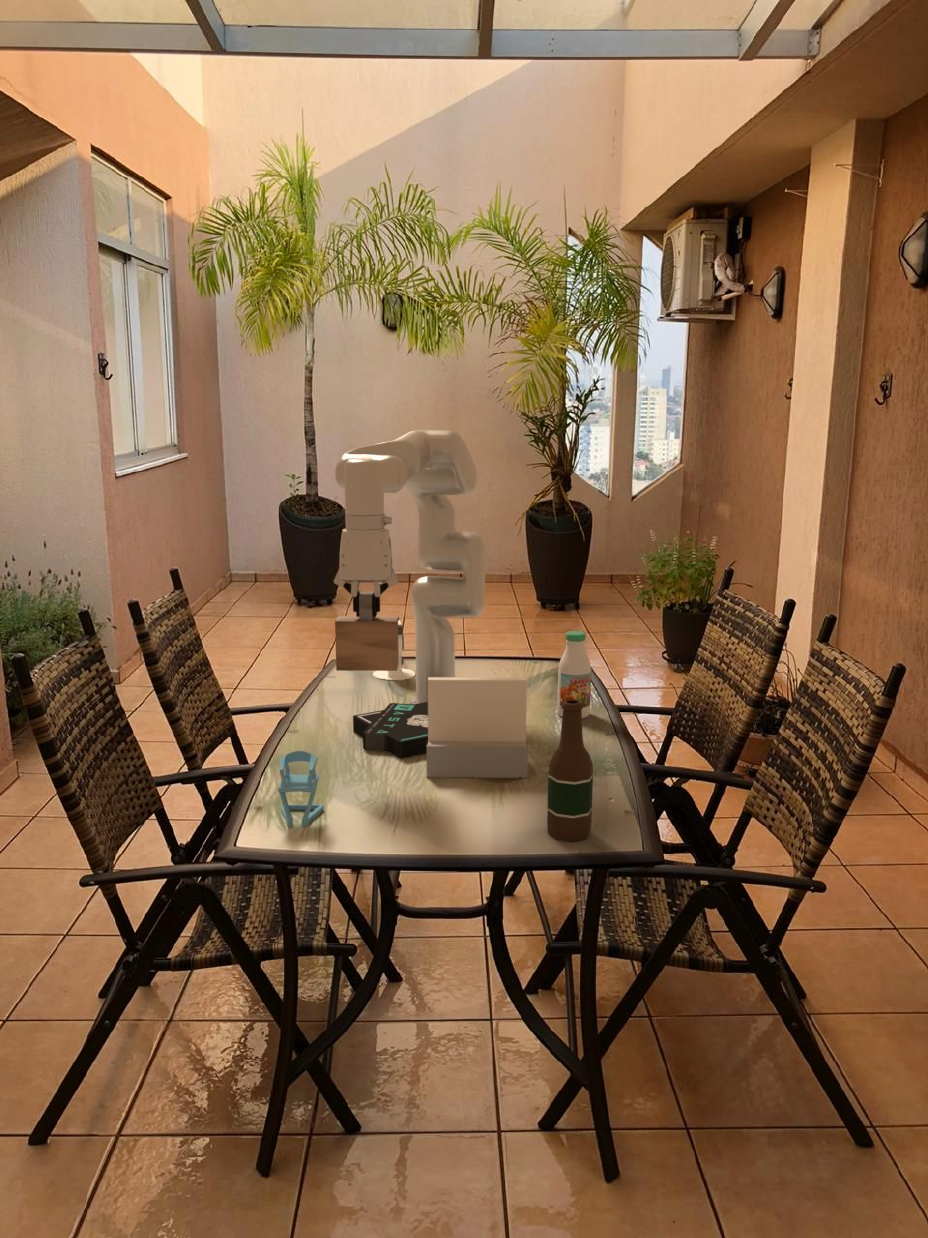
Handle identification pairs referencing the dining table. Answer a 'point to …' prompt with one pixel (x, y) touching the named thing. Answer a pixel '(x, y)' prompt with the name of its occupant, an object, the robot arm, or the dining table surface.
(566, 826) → the beer bottle
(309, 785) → the chair
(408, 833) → the dining table surface
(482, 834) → the dining table surface
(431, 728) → the wall board
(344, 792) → the dining table surface
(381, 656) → the walnut cabinet
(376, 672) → the white peg on disc
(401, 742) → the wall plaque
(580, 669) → the milk bottle
